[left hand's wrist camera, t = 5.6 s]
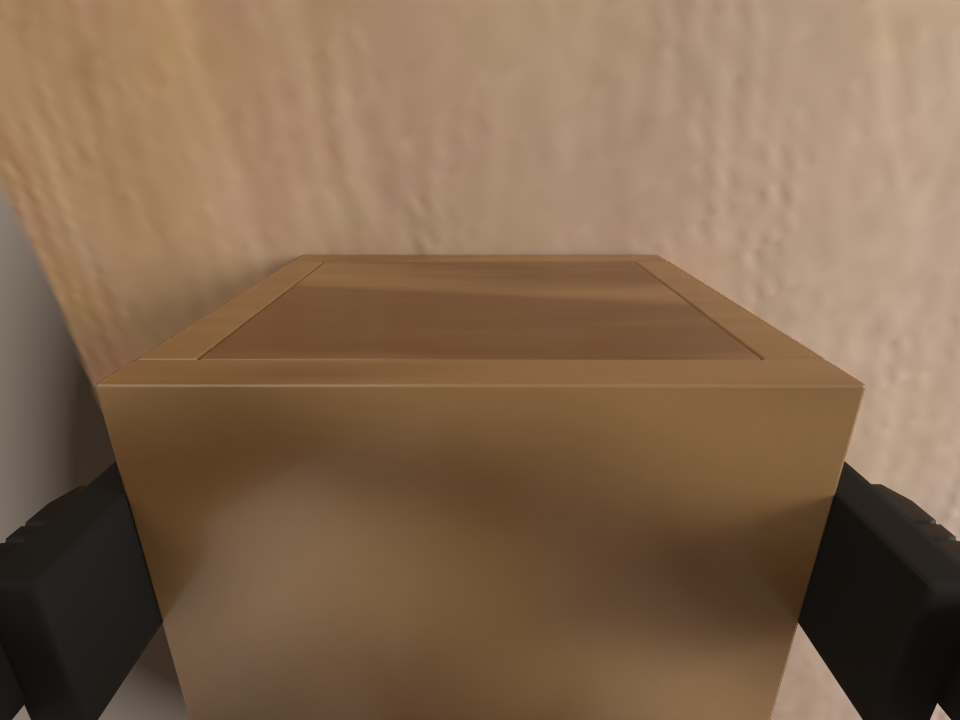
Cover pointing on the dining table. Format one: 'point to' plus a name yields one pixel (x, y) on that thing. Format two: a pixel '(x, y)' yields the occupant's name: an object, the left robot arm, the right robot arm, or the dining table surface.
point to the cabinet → (480, 491)
